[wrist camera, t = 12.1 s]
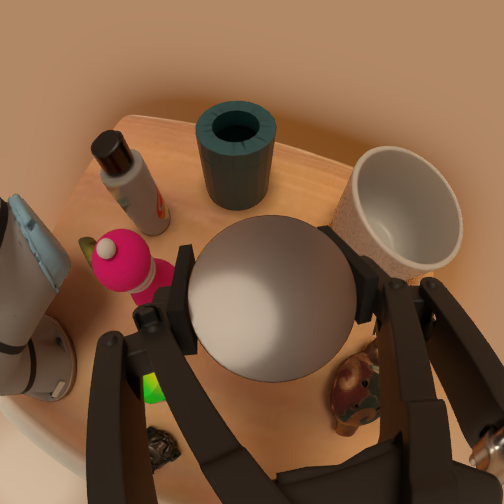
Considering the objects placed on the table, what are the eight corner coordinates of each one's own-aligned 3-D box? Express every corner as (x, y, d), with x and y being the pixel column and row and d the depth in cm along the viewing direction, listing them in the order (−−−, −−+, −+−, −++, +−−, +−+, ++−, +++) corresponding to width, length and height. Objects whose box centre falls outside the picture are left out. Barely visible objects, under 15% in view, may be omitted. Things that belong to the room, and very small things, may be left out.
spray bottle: (170, 202, 44) (132, 115, 25) (171, 233, 42) (125, 154, 23) (139, 207, 43) (88, 128, 24) (138, 238, 42) (77, 167, 23)
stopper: (198, 355, 19) (170, 362, 11) (221, 252, 21) (209, 202, 14) (306, 374, 18) (344, 391, 11) (322, 271, 21) (362, 232, 14)
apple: (122, 402, 27) (168, 357, 29) (112, 371, 32) (152, 329, 34) (161, 419, 31) (204, 379, 33) (147, 390, 36) (185, 353, 38)
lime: (101, 272, 40) (86, 263, 35) (80, 264, 40) (64, 255, 35) (110, 247, 41) (97, 235, 36) (89, 240, 41) (75, 229, 37)
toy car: (188, 446, 31) (182, 457, 27) (143, 483, 28) (134, 494, 24) (157, 419, 33) (147, 426, 29) (114, 457, 30) (103, 466, 25)
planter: (399, 309, 39) (461, 289, 25) (305, 274, 41) (337, 236, 26) (413, 221, 44) (461, 179, 30) (332, 185, 46) (361, 127, 31)
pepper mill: (135, 281, 39) (62, 229, 20) (176, 260, 41) (127, 192, 22) (153, 324, 37) (78, 302, 18) (196, 303, 39) (152, 264, 20)
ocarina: (390, 338, 37) (419, 339, 30) (364, 428, 34) (389, 445, 26) (336, 328, 37) (359, 328, 30) (309, 424, 34) (325, 445, 26)
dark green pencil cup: (200, 205, 44) (185, 150, 31) (215, 156, 47) (208, 98, 34) (262, 215, 43) (270, 161, 30) (271, 165, 47) (280, 106, 34)
